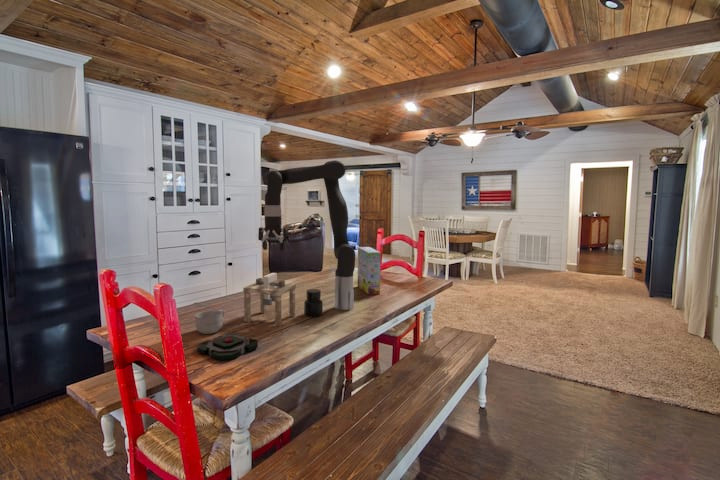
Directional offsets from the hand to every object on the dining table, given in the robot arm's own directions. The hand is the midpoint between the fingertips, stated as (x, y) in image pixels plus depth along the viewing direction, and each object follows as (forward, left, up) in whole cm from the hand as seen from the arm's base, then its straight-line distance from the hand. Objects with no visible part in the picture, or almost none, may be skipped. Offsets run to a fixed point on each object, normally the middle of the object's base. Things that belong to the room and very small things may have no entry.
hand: (273, 250), depth 177 cm
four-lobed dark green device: (-3, +38, -33) cm, 51 cm away
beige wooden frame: (0, +2, -32) cm, 32 cm away
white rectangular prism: (0, +2, -24) cm, 24 cm away
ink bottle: (-16, -11, -32) cm, 38 cm away
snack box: (-28, -67, -32) cm, 79 cm away
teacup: (+15, +24, -32) cm, 43 cm away
